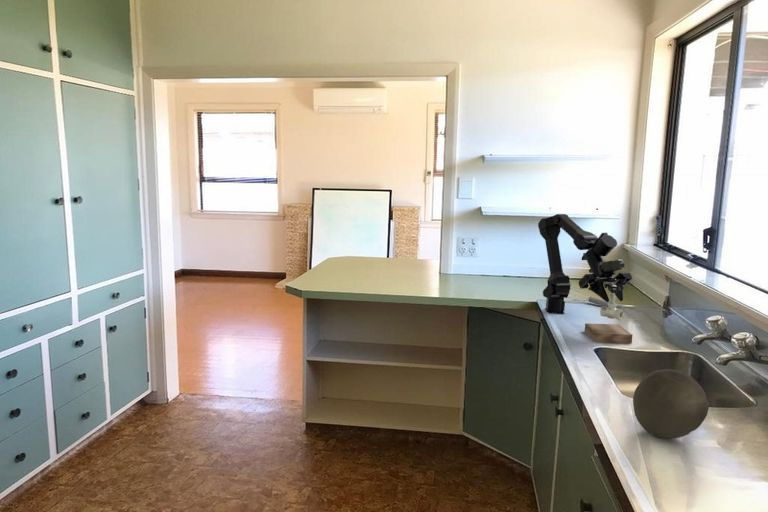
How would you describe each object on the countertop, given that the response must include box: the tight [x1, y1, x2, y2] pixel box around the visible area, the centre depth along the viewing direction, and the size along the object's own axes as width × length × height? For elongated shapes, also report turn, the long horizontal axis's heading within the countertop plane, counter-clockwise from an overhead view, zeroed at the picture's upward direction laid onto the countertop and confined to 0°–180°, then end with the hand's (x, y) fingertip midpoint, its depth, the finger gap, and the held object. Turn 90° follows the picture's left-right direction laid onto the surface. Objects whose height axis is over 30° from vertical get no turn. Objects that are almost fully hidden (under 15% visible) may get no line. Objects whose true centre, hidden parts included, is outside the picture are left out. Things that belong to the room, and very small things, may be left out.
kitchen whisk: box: [569, 286, 628, 311], centre depth 234 cm, size 6×34×6 cm, turn 40°
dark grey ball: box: [632, 368, 710, 440], centre depth 117 cm, size 14×14×15 cm
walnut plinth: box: [584, 323, 633, 344], centre depth 188 cm, size 12×12×3 cm
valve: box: [599, 283, 625, 320], centre depth 186 cm, size 7×7×12 cm
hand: (615, 301), depth 185 cm, fingers closed on valve, 5 cm apart
